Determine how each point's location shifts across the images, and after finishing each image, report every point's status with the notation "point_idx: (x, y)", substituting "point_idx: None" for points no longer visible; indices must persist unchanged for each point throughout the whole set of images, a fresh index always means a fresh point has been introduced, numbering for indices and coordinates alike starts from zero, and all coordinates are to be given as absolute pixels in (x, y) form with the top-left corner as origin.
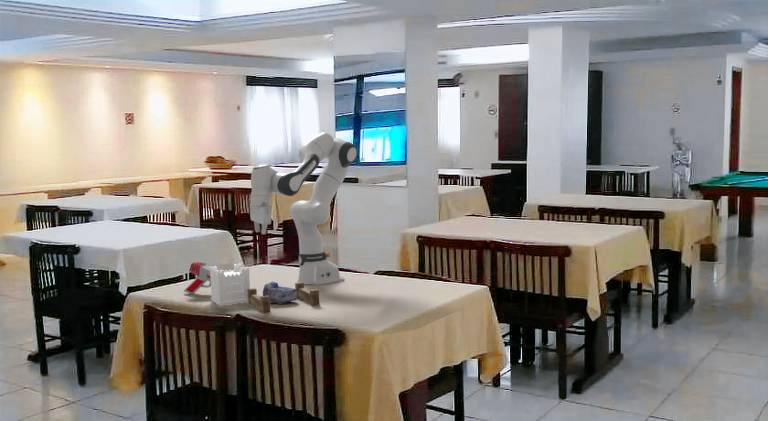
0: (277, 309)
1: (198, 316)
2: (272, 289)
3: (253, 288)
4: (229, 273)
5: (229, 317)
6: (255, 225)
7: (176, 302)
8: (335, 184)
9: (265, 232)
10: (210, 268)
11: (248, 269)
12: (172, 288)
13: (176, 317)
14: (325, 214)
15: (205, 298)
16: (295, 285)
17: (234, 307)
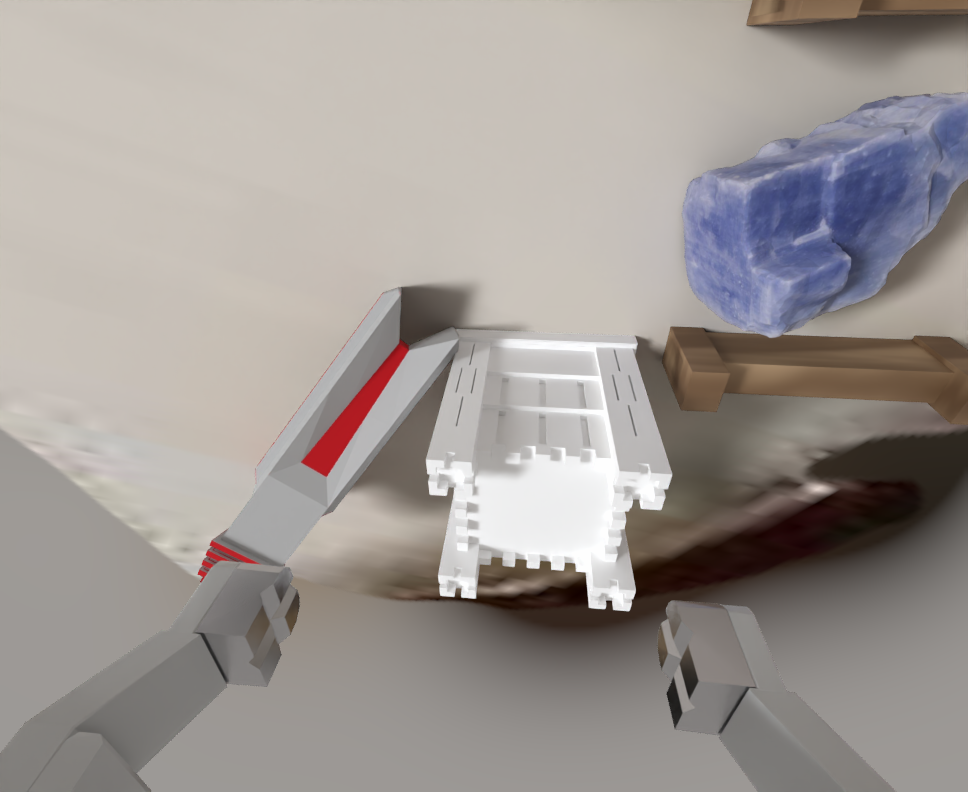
0: (939, 285)
1: (713, 552)
2: (854, 301)
3: (698, 381)
4: (530, 507)
5: (840, 493)
6: (169, 731)
7: (427, 543)
8: None
9: (755, 641)
10: (453, 588)
11: (668, 468)
12: (148, 496)
13: (663, 592)
14: None
15: (412, 462)
16: (794, 19)
17: (682, 430)
